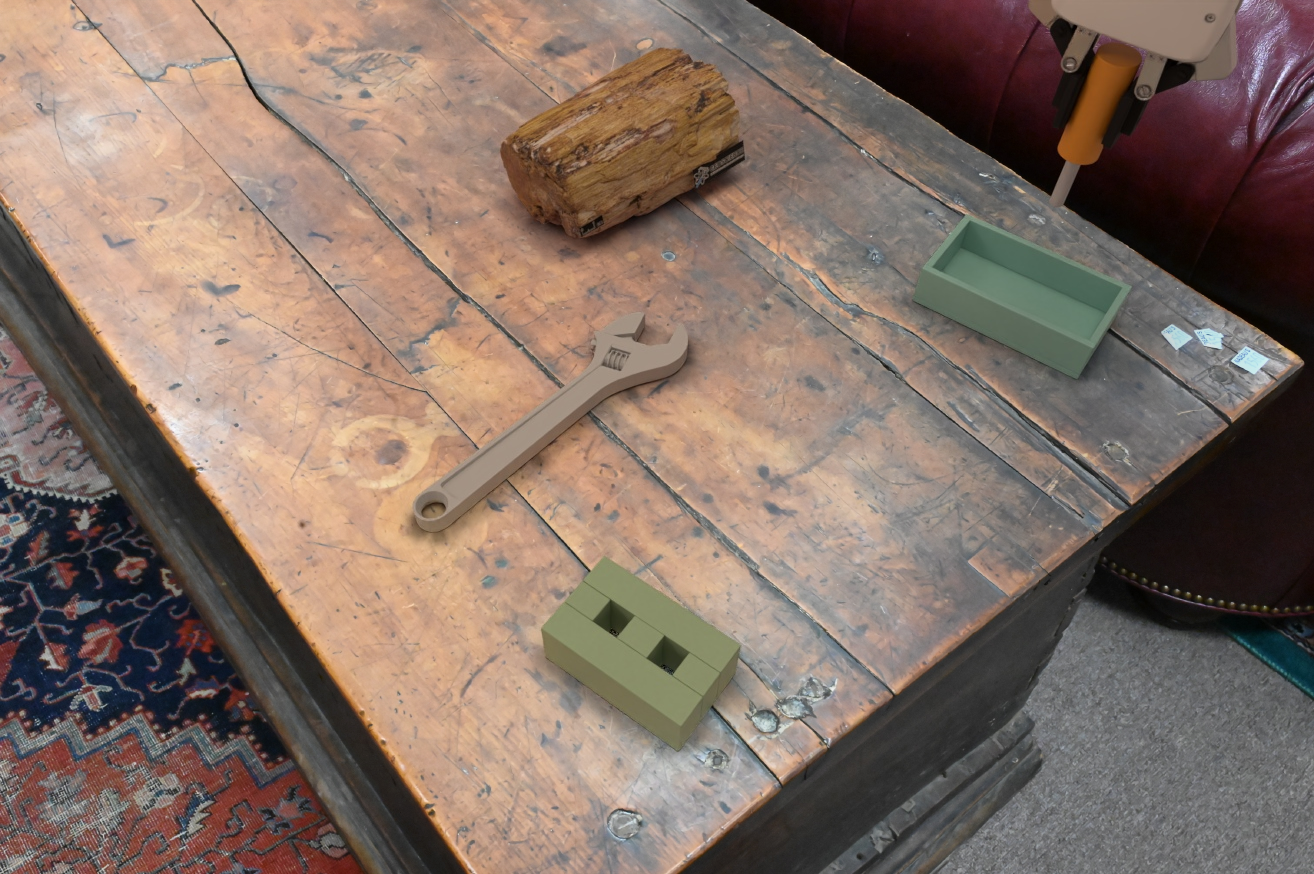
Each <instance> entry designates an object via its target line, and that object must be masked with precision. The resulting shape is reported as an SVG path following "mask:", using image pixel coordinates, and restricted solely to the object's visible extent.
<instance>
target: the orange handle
mask: <svg viewBox="0 0 1314 874" xmlns="http://www.w3.org/2000/svg"><path fill="white" fill-rule="evenodd" d="M1142 62H1143V56H1142V54H1141V52H1140V51H1139V50H1138V49H1136V47H1134V46H1132V45H1129V44H1126V43H1123V42H1106V43H1103V44H1101V45H1099V46H1098V47H1097V49H1096V52H1095V57H1094V59H1093V61H1092V64H1091V66H1090V69H1089V71H1088V74H1087V76H1086V79H1085V81H1084V84H1083V86H1082V89H1081V91H1080V94H1079V96H1078V99H1077V101H1076V103H1075V106H1074V108H1073V111H1072V113H1071V116H1070V118H1069V121H1068V123H1067V124H1066V125H1065V127H1064V131H1063V133H1062V135H1061V138H1060V140H1059V142H1058V145H1057V152H1058V154H1059V156H1060V157H1062V159H1063V160H1065V163H1064V164H1063V168H1062V170H1061V172H1060V175H1059V177H1058V179H1057V182H1056V184H1055V186H1054V188H1053V191H1052V194H1051V196H1050V198H1049V205H1050V206H1051V207H1054V208H1062V207H1063V206H1064V204H1065V202H1066V200H1067V197H1068V195H1069V193H1070V190H1071V188H1072V186H1073V183H1074V181H1075V179H1076V177H1077V174H1078V172H1079V170H1080V168H1081V166H1087V165H1092V164H1094V163H1095V162H1097V161H1098V160H1099V158H1100V156H1101V154H1102V151H1103V149H1104V147H1103V144H1101V142H1102V140H1103V138H1104V135H1105V133H1106V131H1107V129H1108V126H1109V124H1110V122H1111V120H1112V118H1113V115H1114V113H1115V111H1116V109H1117V106H1118V104H1119V102H1120V100H1121V98H1122V96H1123V94H1124V93H1125V92H1126V90H1127V89H1128V88H1129V87H1130V86H1131V85H1132V83H1133V81H1134V80H1135V78H1136V77H1137V74H1138V71H1139V69H1140V67H1141V65H1142V64H1143V63H1142Z"/></svg>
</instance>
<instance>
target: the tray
mask: <svg viewBox="0 0 1314 874" xmlns="http://www.w3.org/2000/svg"><path fill="white" fill-rule="evenodd" d="M1132 289H1133V286H1132V285H1130V284H1128V283H1126V282H1123V281H1121V280H1119V279H1116V278H1115V277H1112V276H1110V275H1108V274H1105V273H1102V272H1100V271H1098V270H1096V269H1093V268H1092V267H1089V266H1087V265H1084V264H1082V263H1081V262H1078V261H1075V260H1074V259H1071V258H1069V257H1066V256H1064V255H1062V254H1059V253H1057V252H1055V251H1053V250H1050V249H1047V248H1046V247H1044V246H1041V245H1039V244H1037V243H1034V242H1032V241H1030V240H1027V239H1025V238H1023V237H1020V236H1018V235H1016V234H1014V233H1011V232H1009V231H1007V230H1005V229H1003V228H1000V227H998V226H996V225H993V224H992V223H989V222H987V221H985V220H982V219H980V218H978V217H976V216H973V215H971V214H968V213H966V214H965V215H964V217H963V218H962V219H961V220H960V221H959V223H958V224H957V225H956V226H955V227H954V228H953V230H952V231H951V232H950V233H949V234H948V235H947V237H946V238H945V239H944V241H943V242H942V243H941V245H939V247H938V248H937V249H936V250H935V252H934V253H933V254H932V256H930V258H929V259H928V260H927V262H926V263H925V264H924V265H923V266H922V268H921V270H920V274H919V277H918V280H917V283H916V286H915V290H914V293H913V295H912V301H913V302H914V303H917V304H919V305H921V306H923V307H925V308H928V309H930V310H931V311H934V312H936V313H938V314H940V315H942V316H944V317H946V318H948V319H950V320H952V321H953V322H956V323H958V324H959V325H962V326H965V327H966V328H969V329H971V330H973V331H975V332H977V333H979V334H981V335H983V336H986V337H988V338H990V339H991V340H994V341H996V342H998V343H1000V344H1002V345H1004V346H1006V347H1008V348H1010V349H1011V350H1012V349H1013V350H1015V351H1016V352H1018V353H1021V354H1023V355H1025V356H1027V357H1029V358H1031V359H1033V360H1035V361H1037V362H1039V363H1042V364H1043V365H1046V366H1048V367H1050V368H1051V369H1053V370H1056V371H1058V372H1060V373H1062V374H1064V375H1067V376H1069V377H1070V378H1073V379H1074V380H1078V379H1079V378H1080V376H1081V374H1082V372H1083V371H1084V369H1085V368H1086V366H1087V365H1088V363H1089V361H1090V360H1091V358H1092V356H1093V355H1094V353H1095V351H1096V350H1097V348H1098V347H1099V345H1100V344H1101V342H1102V340H1103V339H1104V337H1105V335H1106V334H1107V332H1108V331H1109V329H1110V327H1111V326H1112V324H1113V323H1114V321H1115V319H1116V318H1117V316H1118V314H1119V312H1120V310H1121V309H1122V306H1123V305H1124V303H1125V302H1126V299H1127V297H1129V294H1130V292H1131V291H1132Z"/></svg>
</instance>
